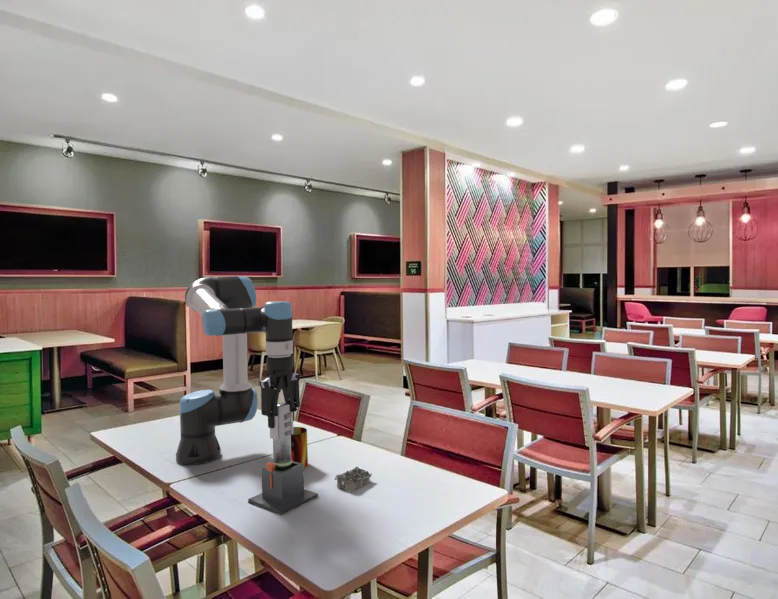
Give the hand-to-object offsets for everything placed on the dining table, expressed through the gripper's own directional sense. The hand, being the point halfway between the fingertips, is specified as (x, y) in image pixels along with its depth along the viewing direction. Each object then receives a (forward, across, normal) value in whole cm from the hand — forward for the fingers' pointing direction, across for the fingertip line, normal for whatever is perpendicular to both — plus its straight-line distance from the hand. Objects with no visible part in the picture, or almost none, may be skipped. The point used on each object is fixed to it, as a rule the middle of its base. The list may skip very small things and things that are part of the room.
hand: (281, 435), depth 151 cm
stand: (+19, 0, 0) cm, 19 cm away
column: (+11, 0, 0) cm, 11 cm away
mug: (+19, +20, +16) cm, 32 cm away
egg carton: (+19, +20, -9) cm, 29 cm away
